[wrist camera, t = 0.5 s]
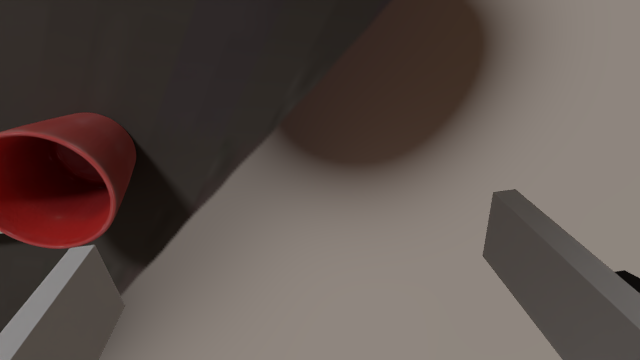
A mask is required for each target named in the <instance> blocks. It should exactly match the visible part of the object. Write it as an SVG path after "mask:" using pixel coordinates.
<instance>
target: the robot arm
mask: <svg viewBox="0 0 640 360" xmlns="http://www.w3.org/2000/svg"><path fill="white" fill-rule="evenodd" d="M483 257H484V258H485V259H486V260H487V262H488V263H489V265H490V266H491V267H492V268H493V270H494V271H495V272H496V273H497V275H498V276H499V278H500V279H501V280H502V281H503V283H504V284H505V285H506V287H507V288H508V289H509V291H510V292H511V293H512V294H513V296H514V297H515V298H516V300H517V301H518V302H519V304H520V305H521V306H522V307H523V309H524V310H525V311H526V312H527V314H528V315H529V316H530V318H531V319H532V320H533V322H534V323H535V324H536V326H537V327H538V328H539V330H541V332H542V333H543V335H544V336H545V337H546V339H547V340H548V341H549V342H550V344H551V345H552V346H553V348H554V349H555V350H556V351H557V353H558V354H559V355H560V357H561V358H562V359H563V360H640V278H638V277H636V276H634V275H632V274H630V273H628V272H626V271H617V272H613V271H612V270H611V269H610V268H609V267H608V266H606V265H605V264H604V263H603V262H601V261H600V260H599V259H598V258H597V257H596V256H594V255H593V254H592V253H591V252H590V251H588V250H587V249H586V248H585V247H584V246H582V245H581V244H580V243H579V242H578V241H576V240H575V239H574V238H573V237H572V236H570V235H569V234H568V233H567V232H566V231H565V230H563V229H562V228H561V227H560V226H559V225H557V224H556V223H555V222H554V221H552V220H551V219H550V218H549V217H548V216H546V215H545V214H544V213H543V212H542V211H540V210H539V209H538V208H537V207H536V206H535V205H533V204H532V203H531V202H530V201H529V200H527V199H526V198H525V197H524V196H523V195H521V194H520V193H519V192H518V191H517V190H515V189H514V190H507V191H500V192H494V193H493V198H492V203H491V209H490V215H489V221H488V227H487V233H486V239H485V245H484V251H483ZM124 307H125V305H124V303H123V301H122V299H121V297H120V295H119V293H118V291H117V289H116V287H115V285H114V282H113V280H112V278H111V276H110V274H109V272H108V270H107V268H106V266H105V264H104V262H103V260H102V258H101V256H100V254H99V252H98V250H97V248H96V246H95V245H90V246H82V247H75V248H70V249H69V250H68V251H67V253H66V254H65V255H64V256H63V258H62V259H61V260H60V261H59V262H58V264H57V265H56V266H55V267H54V268H53V270H52V271H51V272H50V273H49V275H48V276H47V277H46V278H45V279H44V281H43V282H42V283H41V284H40V286H39V287H38V288H37V289H36V290H35V292H34V293H33V294H32V295H31V296H30V298H29V299H28V300H27V301H26V303H25V304H24V305H23V306H22V307H21V309H20V310H19V311H18V312H17V313H16V315H15V316H14V317H13V318H12V320H11V321H10V322H9V323H8V324H7V326H6V327H5V328H4V329H3V331H2V332H1V333H0V360H99V358H100V356H101V354H102V352H103V350H104V348H105V345H106V344H107V342H108V339H109V337H110V336H111V334H112V332H113V329H114V327H115V325H116V323H117V321H118V319H119V317H120V315H121V313H122V311H123V309H124Z"/></svg>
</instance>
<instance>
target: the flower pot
mask: <svg viewBox="0 0 640 360" xmlns="http://www.w3.org/2000/svg"><path fill="white" fill-rule="evenodd" d="M135 162H136V149H135V145H134V143H133V141H132V139H131V137H130V135H129V134H128V133H127V131H126V130H125V129H124V128H123V127H122V126H121V125H119V124H118V123H117V122H115V121H114V120H112V119H110V118H108V117H105V116H103V115H100V114H95V113H75V114H71V115H66V116H62V117H58V118H53V119H49V120H44V121H40V122H36V123H32V124H28V125H24V126H20V127H17V128H13V129H9V130H6V131H2V132H0V232H2V233H4V234H6V235H7V236H10V237H12V238H14V239H16V240H19V241H21V242H24V243H27V244H31V245H34V246H39V247H44V248H54V249H63V248H72V247H77V246H81V245H84V244H87V243H89V242H91V241H93V240H95V239H97V238H98V237H100V236H101V235H102V234H104V233H105V232H106V231H107V229H108V228H109V227H110V226H111V224H112V222H113V220H114V218H115V216H116V214H117V212H118V209H119V207H120V205H121V202H122V200H123V197H124V195H125V192H126V189H127V187H128V184H129V181H130V178H131V175H132V172H133V169H134V166H135Z"/></svg>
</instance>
